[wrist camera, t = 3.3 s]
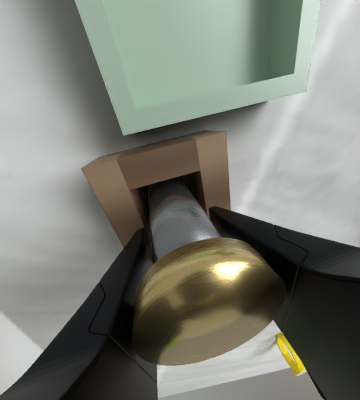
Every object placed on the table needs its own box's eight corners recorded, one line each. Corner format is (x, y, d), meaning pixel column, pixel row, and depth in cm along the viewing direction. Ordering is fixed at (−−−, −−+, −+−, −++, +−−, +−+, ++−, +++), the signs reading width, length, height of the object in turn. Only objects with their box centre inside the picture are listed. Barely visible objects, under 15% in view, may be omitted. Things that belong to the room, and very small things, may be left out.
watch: (281, 337, 36) (304, 373, 31) (271, 341, 36) (293, 379, 31) (286, 328, 33) (312, 367, 28) (275, 333, 33) (300, 372, 28)
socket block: (214, 215, 15) (232, 237, 12) (137, 238, 14) (135, 269, 11) (204, 130, 11) (226, 131, 8) (99, 156, 11) (81, 168, 8)
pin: (194, 205, 14) (278, 331, 5) (149, 218, 14) (159, 379, 5) (186, 159, 12) (297, 242, 3) (132, 173, 12) (99, 312, 3)
